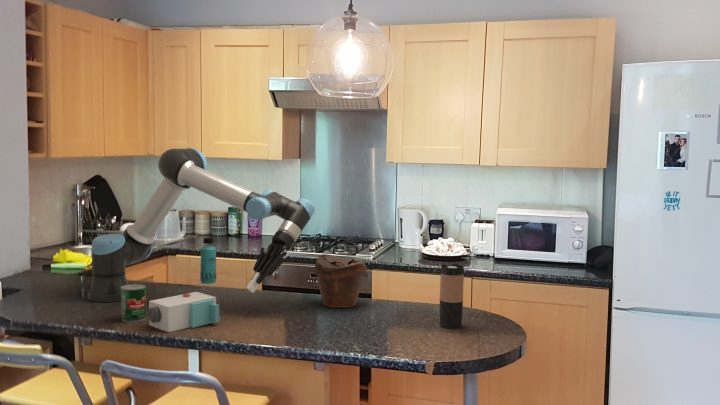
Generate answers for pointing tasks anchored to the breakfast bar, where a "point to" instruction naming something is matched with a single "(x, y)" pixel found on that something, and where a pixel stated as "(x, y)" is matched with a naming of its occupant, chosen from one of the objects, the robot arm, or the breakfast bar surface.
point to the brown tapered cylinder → (339, 280)
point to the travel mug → (451, 295)
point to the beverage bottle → (208, 262)
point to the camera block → (174, 311)
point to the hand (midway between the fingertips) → (249, 290)
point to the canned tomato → (133, 303)
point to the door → (203, 313)
